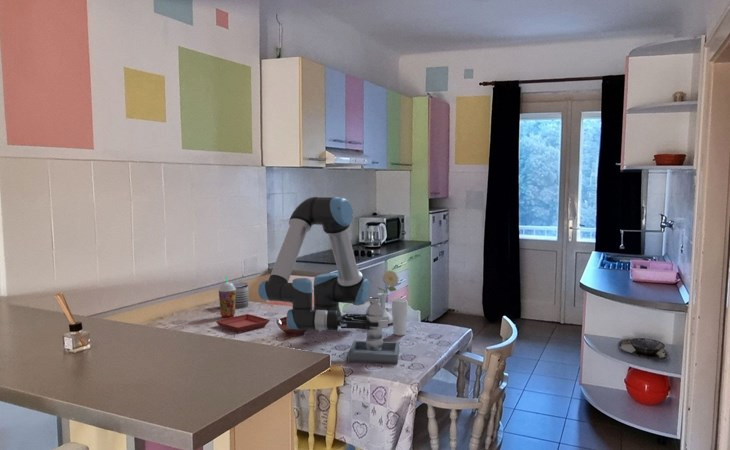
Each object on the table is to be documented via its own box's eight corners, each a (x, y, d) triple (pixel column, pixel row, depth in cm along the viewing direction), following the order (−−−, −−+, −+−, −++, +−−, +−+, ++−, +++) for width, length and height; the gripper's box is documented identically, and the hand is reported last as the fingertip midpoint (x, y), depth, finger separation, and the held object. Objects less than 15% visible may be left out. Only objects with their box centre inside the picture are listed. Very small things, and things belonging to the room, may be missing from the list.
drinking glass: (406, 336, 239) (406, 302, 237) (390, 336, 240) (390, 301, 239) (408, 332, 245) (408, 299, 244) (392, 331, 247) (393, 298, 245)
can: (248, 308, 292) (248, 285, 291) (226, 309, 289) (225, 286, 288) (248, 303, 303) (248, 281, 302) (226, 304, 300) (226, 282, 300)
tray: (353, 349, 221) (353, 340, 221) (399, 350, 219) (399, 342, 219) (348, 362, 205) (348, 353, 205) (397, 364, 203) (397, 354, 203)
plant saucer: (214, 327, 255) (214, 320, 255) (247, 320, 268) (247, 313, 268) (237, 334, 243) (237, 327, 243) (270, 326, 256) (270, 319, 256)
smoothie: (215, 318, 271) (214, 277, 269) (225, 314, 278) (225, 274, 277) (229, 319, 268) (229, 278, 266) (240, 315, 275) (239, 275, 274)
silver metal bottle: (364, 347, 215) (364, 296, 213) (382, 347, 215) (382, 296, 214) (366, 353, 208) (366, 300, 207) (384, 352, 209) (384, 299, 207)
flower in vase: (371, 326, 256) (371, 272, 254) (370, 320, 267) (370, 268, 265) (399, 326, 256) (399, 272, 254) (397, 320, 267) (397, 268, 265)
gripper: (331, 323, 223) (389, 325, 220) (323, 336, 204) (386, 338, 201) (331, 305, 222) (389, 306, 220) (322, 316, 203) (386, 318, 201)
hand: (388, 322), depth 210 cm, fingers closed on silver metal bottle, 6 cm apart
